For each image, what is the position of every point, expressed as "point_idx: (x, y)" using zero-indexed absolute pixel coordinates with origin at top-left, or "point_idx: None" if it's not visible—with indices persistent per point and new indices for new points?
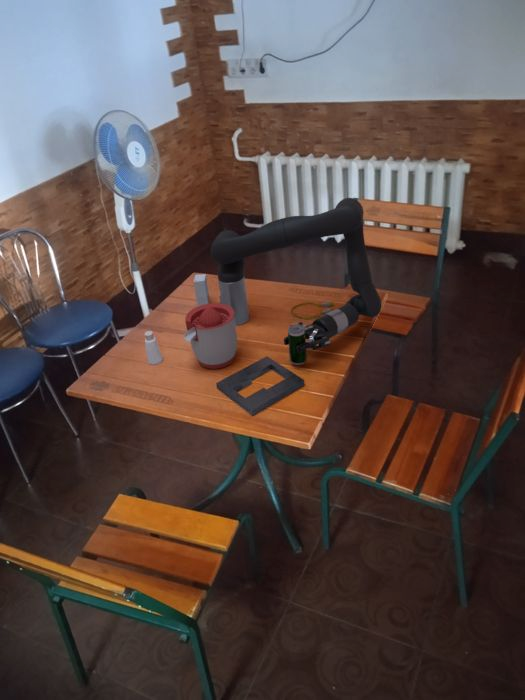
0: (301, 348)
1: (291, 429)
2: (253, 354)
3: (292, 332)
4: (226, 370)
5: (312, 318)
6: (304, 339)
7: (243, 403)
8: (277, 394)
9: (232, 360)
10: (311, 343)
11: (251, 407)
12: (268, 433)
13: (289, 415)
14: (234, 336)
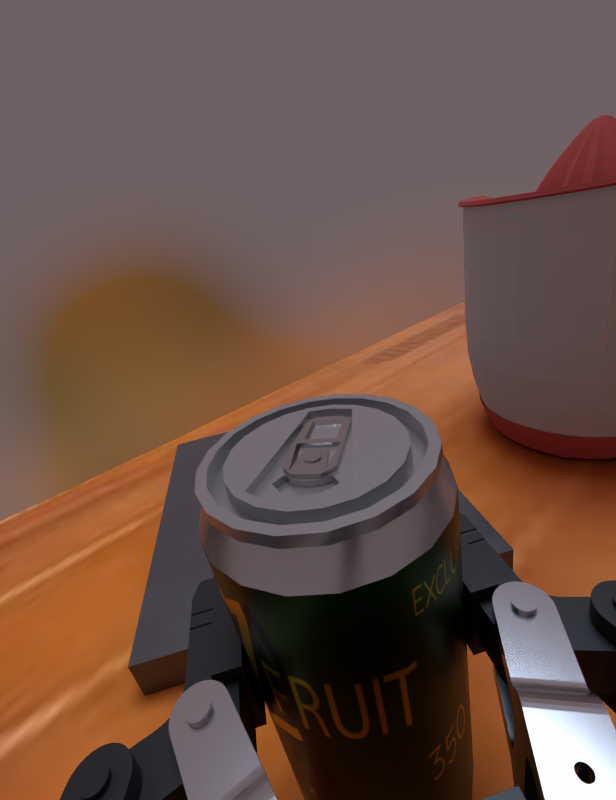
0: (198, 597)
1: (24, 533)
2: (612, 533)
3: (266, 413)
4: (473, 436)
5: None
6: (238, 633)
7: (224, 433)
8: (167, 514)
9: (530, 443)
10: (163, 759)
11: (189, 445)
12: (89, 481)
13: (73, 547)
14: (539, 323)
